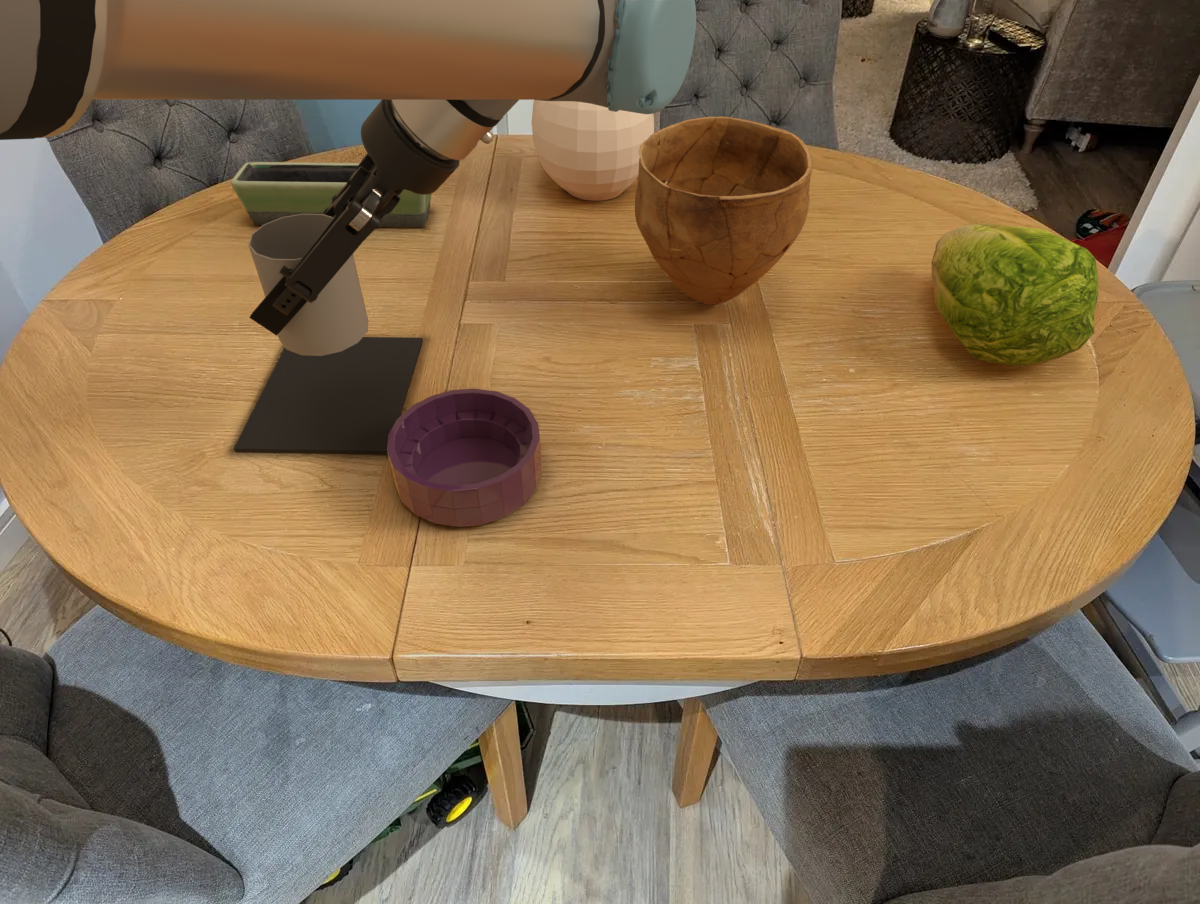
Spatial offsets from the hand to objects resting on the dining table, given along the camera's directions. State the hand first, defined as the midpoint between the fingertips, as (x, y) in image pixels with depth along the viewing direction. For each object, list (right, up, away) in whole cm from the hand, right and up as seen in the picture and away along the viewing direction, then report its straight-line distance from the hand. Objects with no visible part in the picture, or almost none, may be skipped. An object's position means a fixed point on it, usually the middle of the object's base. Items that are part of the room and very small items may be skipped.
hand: (280, 296), depth 76 cm
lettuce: (+78, +1, +26) cm, 82 cm away
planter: (-8, +20, +45) cm, 50 cm away
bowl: (+44, +5, +29) cm, 53 cm away
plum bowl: (+17, -17, +6) cm, 25 cm away
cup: (+3, -3, +3) cm, 5 cm away
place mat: (0, -8, +15) cm, 17 cm away
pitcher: (+29, +27, +53) cm, 66 cm away
